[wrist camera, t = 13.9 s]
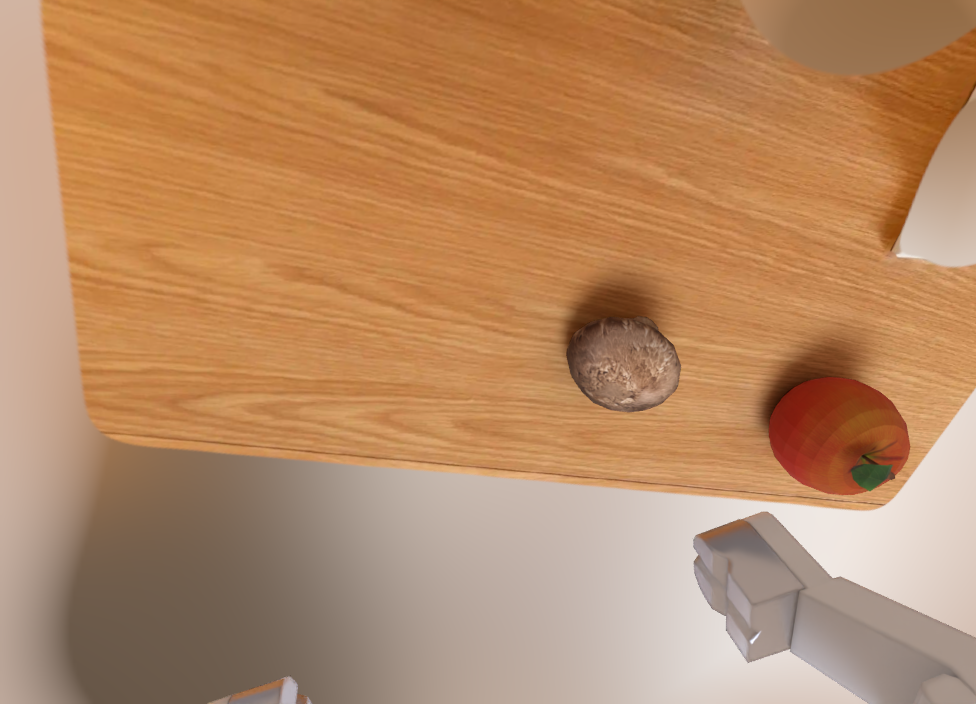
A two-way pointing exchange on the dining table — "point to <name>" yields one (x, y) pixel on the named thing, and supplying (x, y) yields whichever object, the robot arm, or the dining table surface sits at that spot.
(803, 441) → the fruit
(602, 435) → the dining table surface
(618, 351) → the mushroom
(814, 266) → the dining table surface
